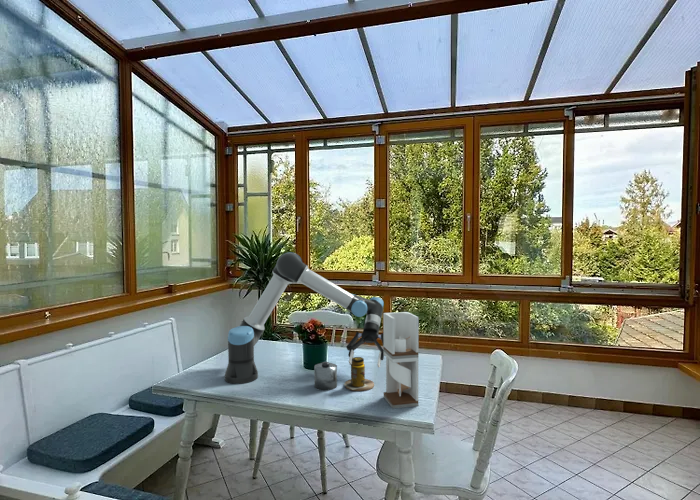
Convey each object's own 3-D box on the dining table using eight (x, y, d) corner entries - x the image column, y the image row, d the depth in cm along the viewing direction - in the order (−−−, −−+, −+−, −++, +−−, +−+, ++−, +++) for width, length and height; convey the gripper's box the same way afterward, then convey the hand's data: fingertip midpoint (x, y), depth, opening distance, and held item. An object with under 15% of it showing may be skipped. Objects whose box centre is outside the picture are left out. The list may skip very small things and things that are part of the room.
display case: (383, 397, 167) (383, 313, 166) (407, 394, 170) (407, 311, 169) (392, 408, 156) (392, 318, 155) (418, 405, 159) (418, 317, 157)
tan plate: (339, 383, 183) (339, 381, 183) (364, 378, 189) (364, 376, 189) (353, 393, 172) (353, 390, 172) (379, 387, 178) (379, 385, 178)
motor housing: (311, 384, 182) (310, 361, 181) (331, 380, 186) (330, 358, 186) (320, 392, 173) (319, 367, 173) (340, 387, 178) (340, 364, 177)
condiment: (368, 386, 177) (368, 359, 177) (352, 390, 172) (352, 362, 172) (359, 381, 183) (359, 355, 183) (343, 385, 178) (343, 358, 178)
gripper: (397, 331, 199) (391, 371, 185) (349, 328, 207) (340, 366, 193) (395, 322, 194) (389, 363, 180) (346, 319, 201) (336, 358, 188)
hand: (364, 364), depth 187 cm, fingers open, 13 cm apart
